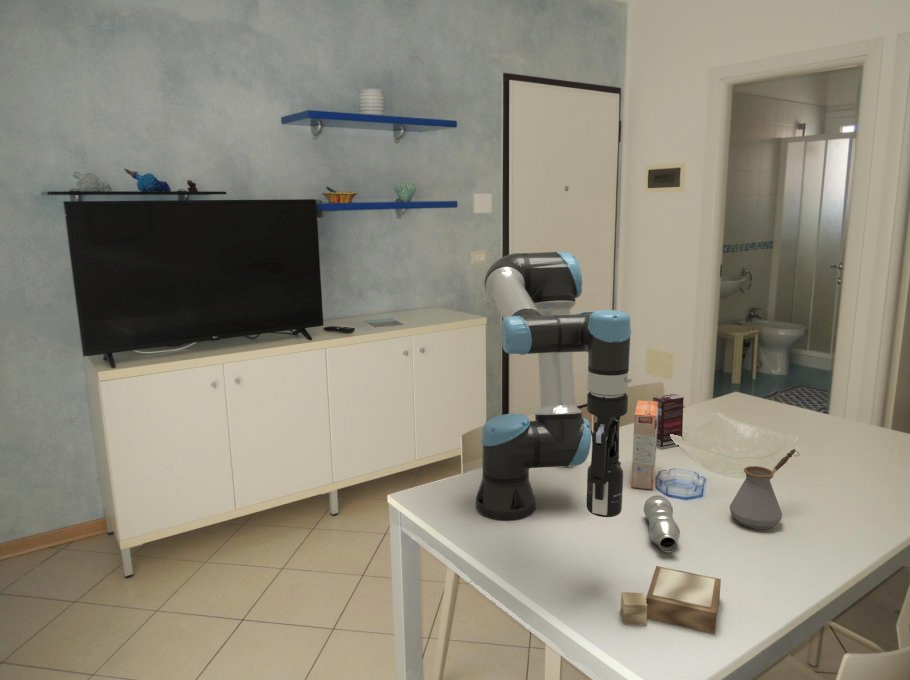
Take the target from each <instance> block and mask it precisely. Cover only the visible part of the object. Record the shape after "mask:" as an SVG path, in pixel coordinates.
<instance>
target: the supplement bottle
mask: <svg viewBox="0 0 910 680" xmlns="http://www.w3.org/2000/svg"><path fill="white" fill-rule="evenodd" d="M619 462H620V453H619V454H618V453H617V452H616V451H614V450H610V453H609V463H608V472H607V482H608V504H607V515H601V514H595V513H592V503H593V483H591V482H589V478H590V477H591V464H589V466H588V467H587V473H586V475H587V476H586V477H587V478H586V509H587V511H588V512H589V513H590V514H592V515H593V516H597V517H599V518H600V517H601V518H613V517H617V516H619V515H620V514H621V512H622V507H623V489H624V487H623V486H624V470H623V467H621V466H619V465H618V464H619Z"/></svg>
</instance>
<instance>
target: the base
mask: <svg viewBox="0 0 910 680" xmlns="http://www.w3.org/2000/svg"><path fill="white" fill-rule="evenodd" d="M651 578H652V579H651V581H650V584H649V588H648V590H647V591H648V592H647V594H646V596H645V597H646V598H645V600H646V603H647V619H651V620H654V621H655V620H656V621H660V622H663V623H667V624H673V625H676V626H681V627H685V628H688V629H689V628H690V629H694V630H697V631H702V632H706V633H710V634H716V627H717V621H718V614H719V613H718V612H719V606H720V605H719V604H720V595H721V582H722V579H721V578H717V577H711V576H707V575H703V574H698V573H694V572H688V571H683V570H678V569H673V568H669V567H663V566H659V565H656V566H655V569H654V572H653V575H652V577H651Z"/></svg>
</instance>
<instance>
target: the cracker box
mask: <svg viewBox="0 0 910 680" xmlns="http://www.w3.org/2000/svg"><path fill="white" fill-rule="evenodd" d="M657 427H658V402H655V401H653V400H637V404H636V407H635V412H634V422H633V438H632V439H633V441H632V444H633V445H632V459H631V460H632V461H631V479H630V480H631V481H630V484H631V485H630V487H631V488H634V489H640V490H641V489H643V490H649V491H650V490H653V485H654V480H655V479H654V478H655V471H656V470H655V469H656V459H657V457H656V456H657V447H656V444H657Z"/></svg>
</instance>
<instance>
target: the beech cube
mask: <svg viewBox="0 0 910 680" xmlns="http://www.w3.org/2000/svg"><path fill="white" fill-rule="evenodd" d="M620 594H621V595H620V598H621V599H620V615H621V617H622V621H623V625H637V626H638V625H639V626H647V620H648V618H647V603H646V598H645V597H646V596H645V594H644V592H627V591H626V592H624V591H621V593H620Z"/></svg>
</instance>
